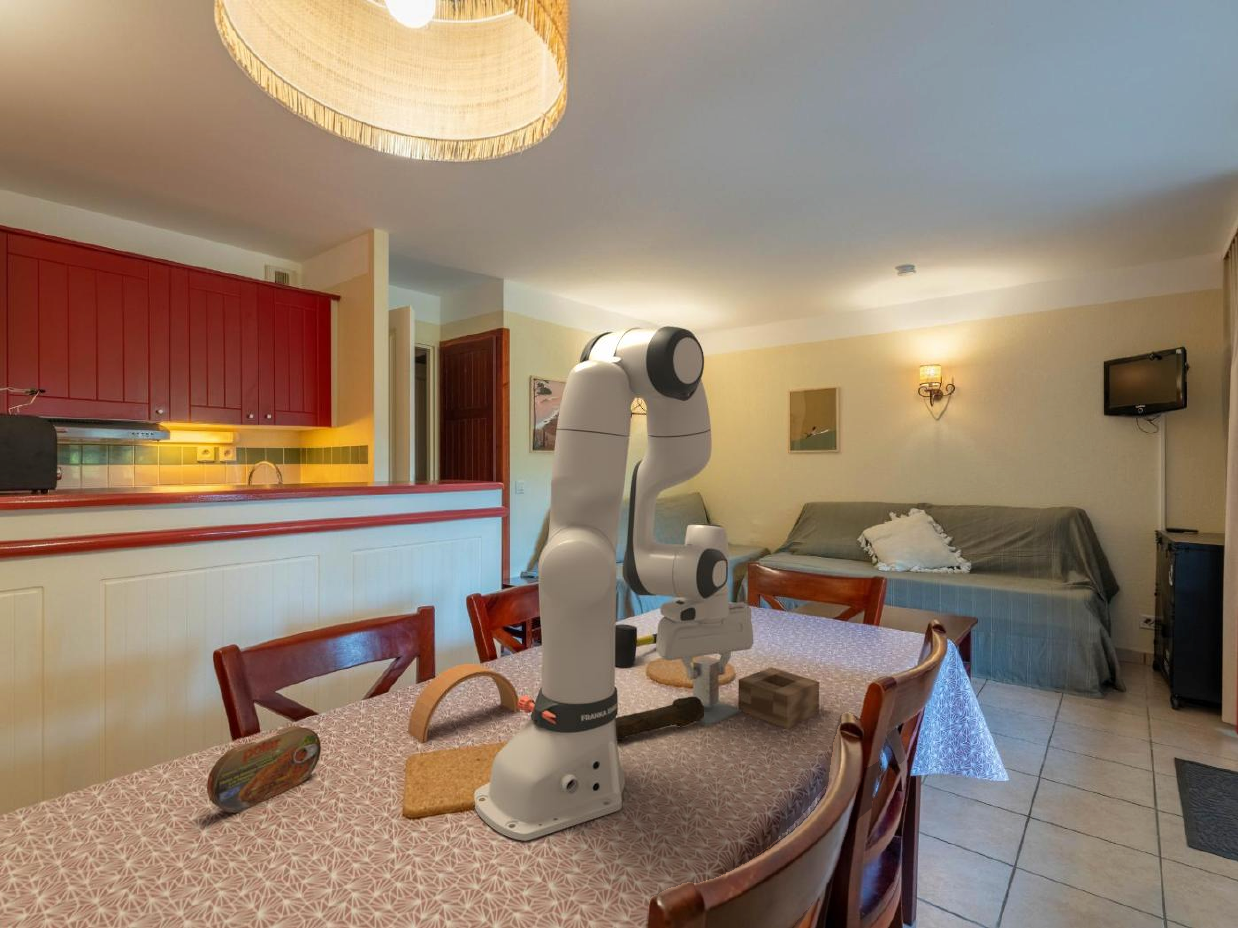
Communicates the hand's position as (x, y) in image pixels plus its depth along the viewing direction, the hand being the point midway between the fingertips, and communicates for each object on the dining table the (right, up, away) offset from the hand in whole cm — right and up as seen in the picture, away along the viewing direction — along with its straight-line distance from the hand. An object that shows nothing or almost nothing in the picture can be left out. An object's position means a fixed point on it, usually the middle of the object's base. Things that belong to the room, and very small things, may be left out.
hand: (706, 676), depth 117 cm
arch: (-45, -7, -5) cm, 46 cm away
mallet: (-9, -7, +36) cm, 38 cm away
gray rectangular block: (0, -5, 0) cm, 5 cm away
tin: (-68, -7, -30) cm, 75 cm away
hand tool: (-10, -7, -8) cm, 15 cm away
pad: (0, -7, 0) cm, 7 cm away
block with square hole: (+14, -7, 0) cm, 16 cm away
